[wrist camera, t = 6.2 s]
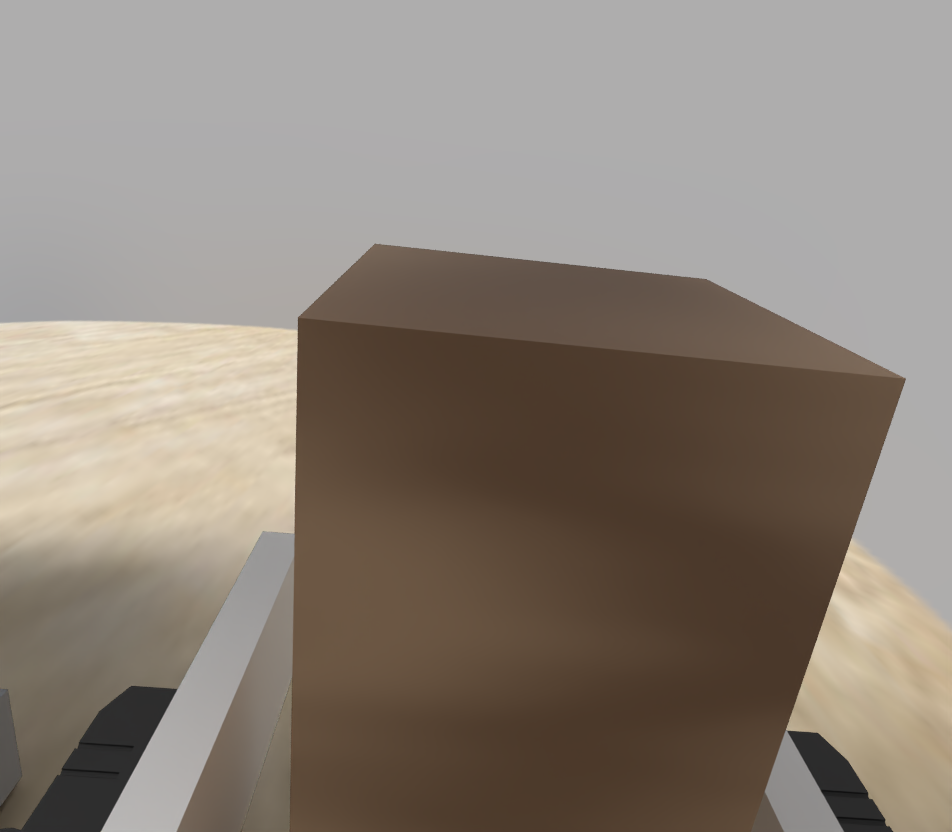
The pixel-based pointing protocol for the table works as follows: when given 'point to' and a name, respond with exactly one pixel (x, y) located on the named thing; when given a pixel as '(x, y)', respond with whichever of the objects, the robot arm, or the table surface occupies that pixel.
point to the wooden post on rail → (557, 545)
